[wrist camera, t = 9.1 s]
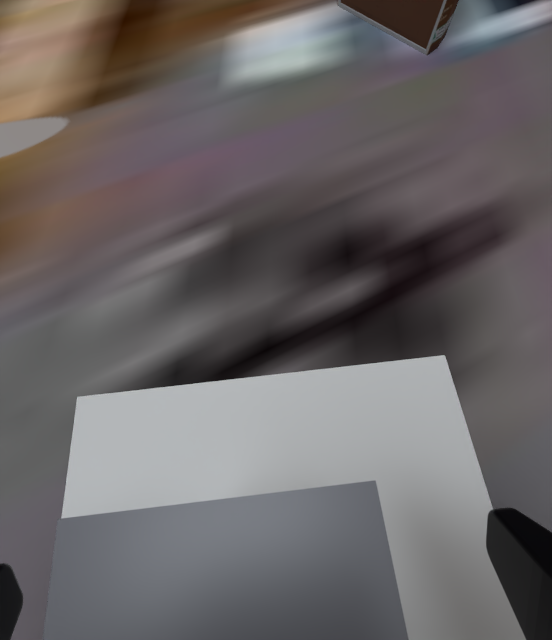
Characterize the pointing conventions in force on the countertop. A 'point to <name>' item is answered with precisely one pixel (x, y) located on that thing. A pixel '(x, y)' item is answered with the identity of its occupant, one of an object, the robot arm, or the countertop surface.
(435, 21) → the food container
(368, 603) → the plug
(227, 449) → the socket
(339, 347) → the countertop surface
